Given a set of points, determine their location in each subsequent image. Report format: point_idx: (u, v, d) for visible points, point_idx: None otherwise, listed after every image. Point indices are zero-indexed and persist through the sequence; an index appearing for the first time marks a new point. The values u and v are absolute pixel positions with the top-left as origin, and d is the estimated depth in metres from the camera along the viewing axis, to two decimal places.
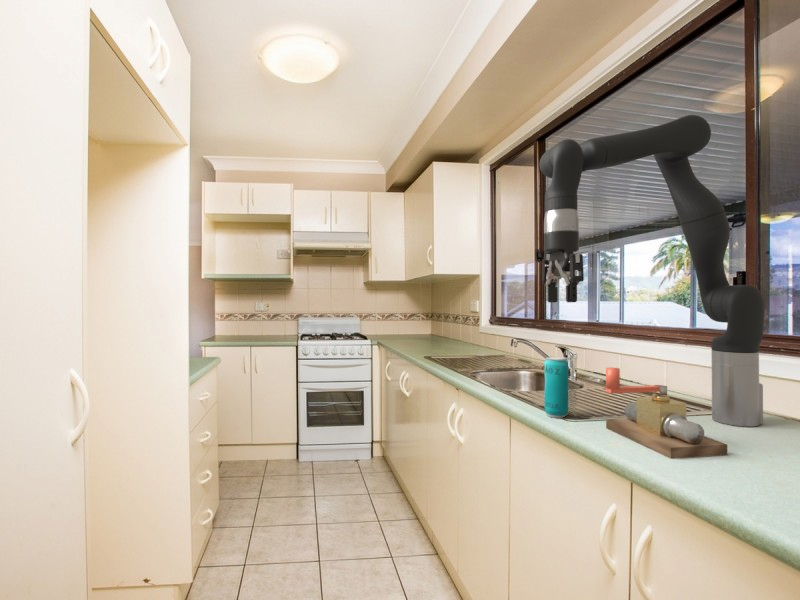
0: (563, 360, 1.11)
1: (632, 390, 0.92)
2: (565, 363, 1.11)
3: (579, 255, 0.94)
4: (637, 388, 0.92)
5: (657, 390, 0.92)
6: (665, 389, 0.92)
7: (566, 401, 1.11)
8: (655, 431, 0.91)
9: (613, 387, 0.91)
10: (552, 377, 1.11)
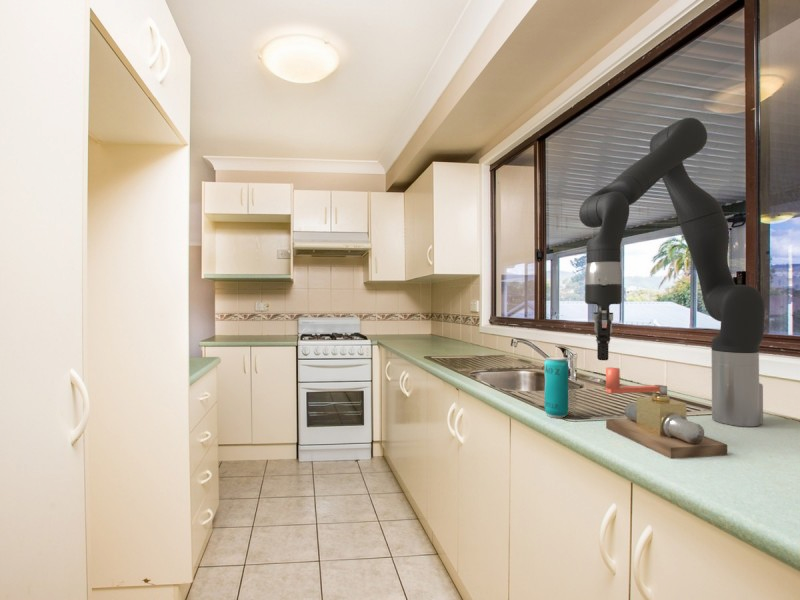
0: (563, 360, 1.11)
1: (632, 390, 0.92)
2: (565, 363, 1.11)
3: None
4: (637, 388, 0.92)
5: (657, 390, 0.92)
6: (665, 389, 0.92)
7: (566, 401, 1.11)
8: (655, 431, 0.91)
9: (613, 387, 0.91)
10: (552, 377, 1.11)
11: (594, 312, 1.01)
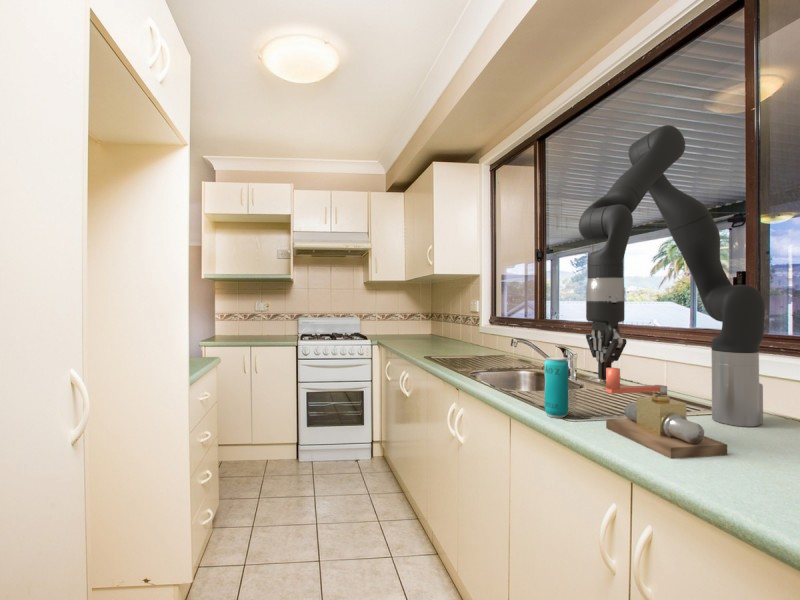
0: (563, 360, 1.11)
1: (632, 390, 0.91)
2: (565, 363, 1.11)
3: None
4: (637, 388, 0.92)
5: (657, 390, 0.92)
6: (665, 389, 0.92)
7: (566, 401, 1.11)
8: (655, 431, 0.91)
9: (613, 387, 0.91)
10: (552, 377, 1.11)
11: (594, 330, 0.96)
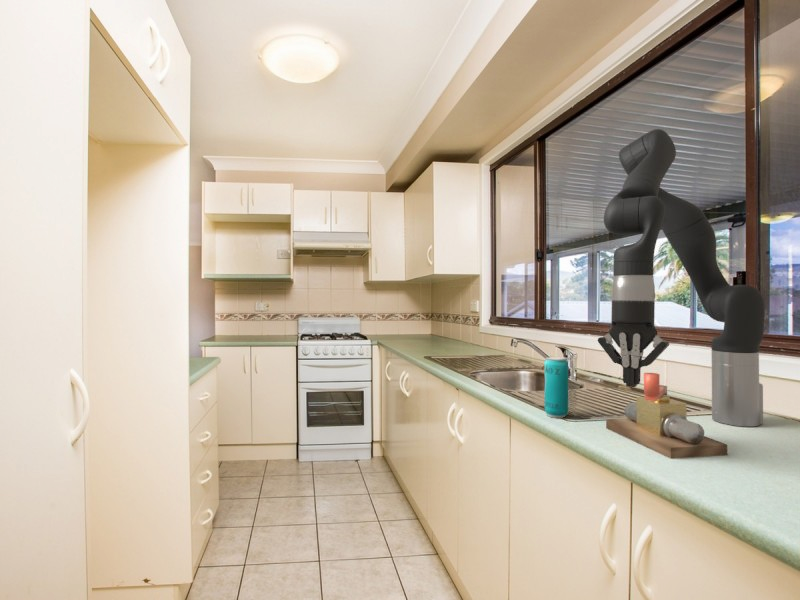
0: (563, 360, 1.11)
1: (660, 394, 0.87)
2: (565, 363, 1.11)
3: None
4: (660, 391, 0.88)
5: (664, 391, 0.92)
6: None
7: (566, 401, 1.11)
8: (655, 431, 0.91)
9: (657, 394, 0.84)
10: (552, 377, 1.11)
11: (624, 332, 0.87)
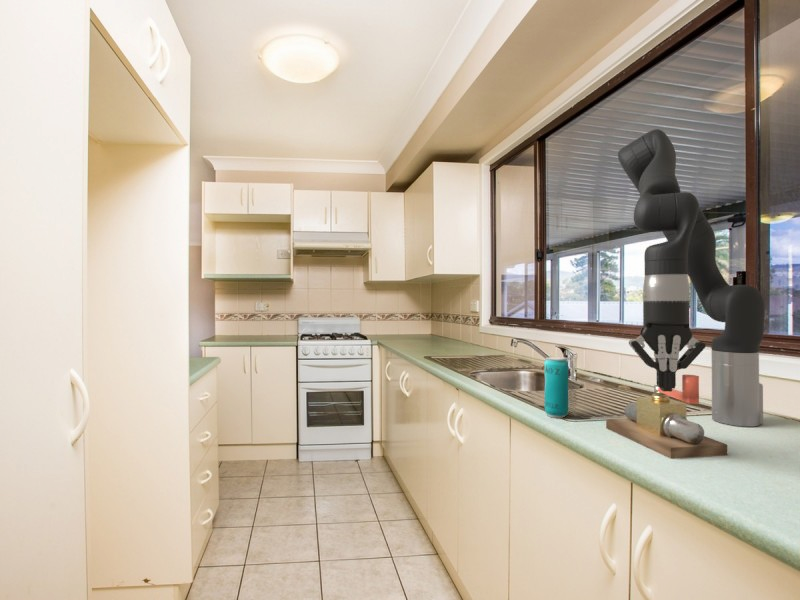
0: (563, 360, 1.11)
1: None
2: (565, 363, 1.11)
3: (631, 344, 0.85)
4: None
5: None
6: None
7: (566, 401, 1.11)
8: (655, 431, 0.91)
9: (698, 396, 0.82)
10: (552, 377, 1.11)
11: (662, 334, 0.82)
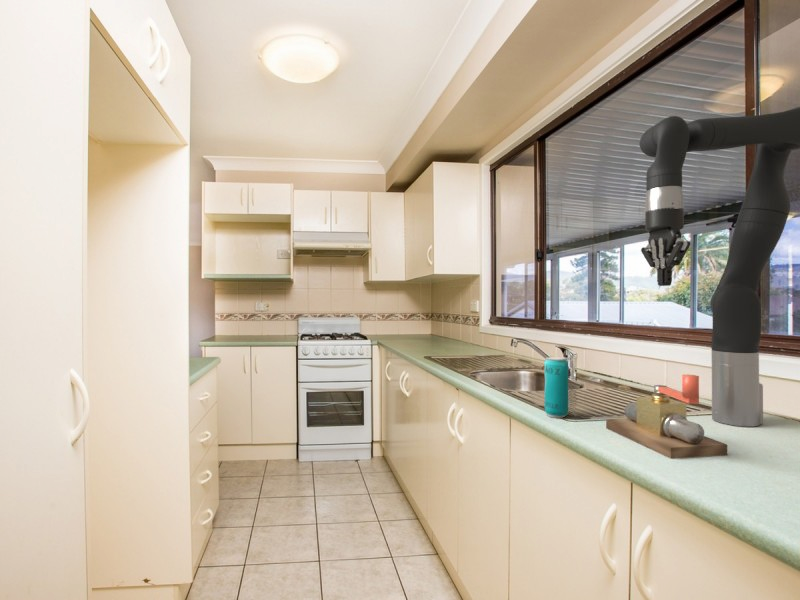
0: (563, 360, 1.11)
1: None
2: (565, 363, 1.11)
3: None
4: None
5: None
6: None
7: (566, 401, 1.11)
8: (655, 431, 0.91)
9: (698, 396, 0.82)
10: (552, 377, 1.11)
11: (654, 239, 1.01)
